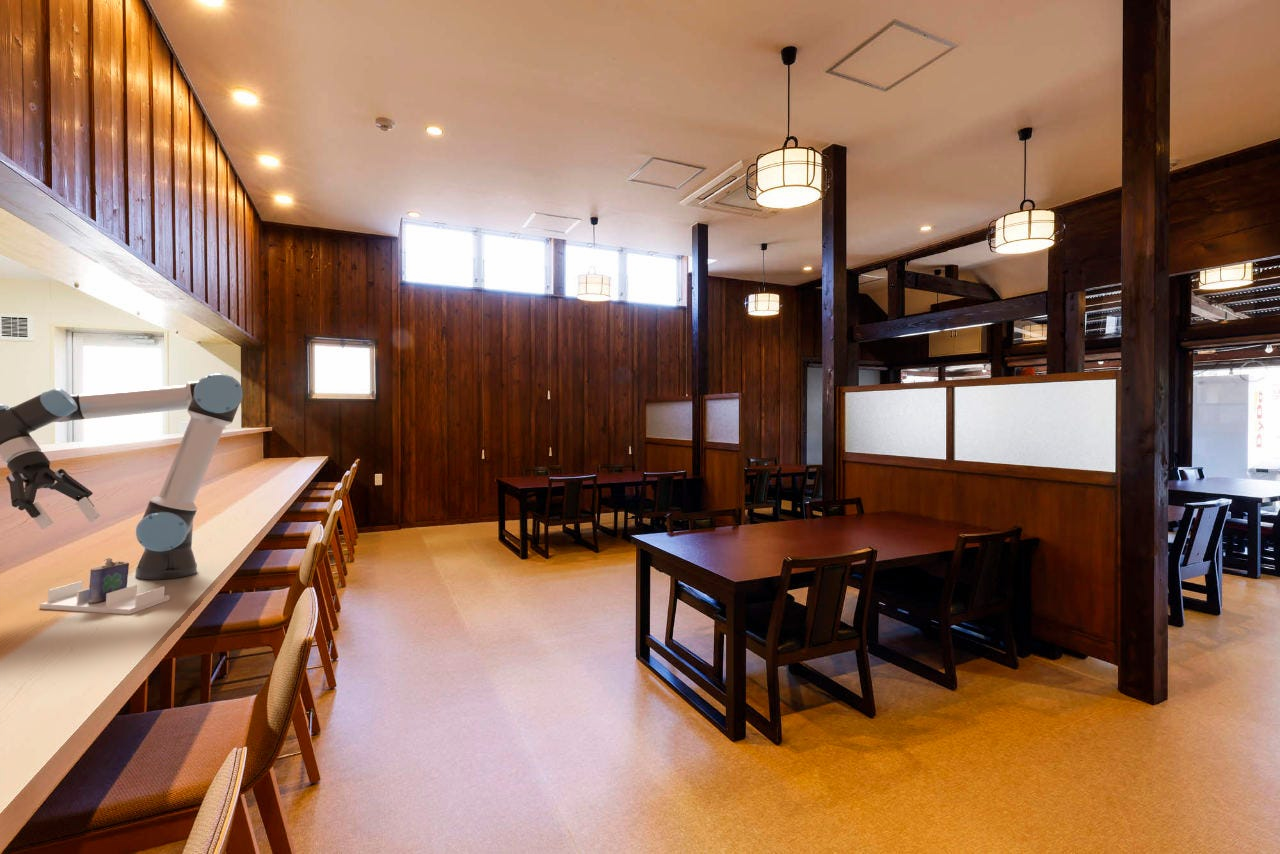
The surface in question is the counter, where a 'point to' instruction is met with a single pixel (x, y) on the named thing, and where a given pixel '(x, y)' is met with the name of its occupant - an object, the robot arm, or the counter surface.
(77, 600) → the rack
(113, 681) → the counter surface
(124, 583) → the flask
